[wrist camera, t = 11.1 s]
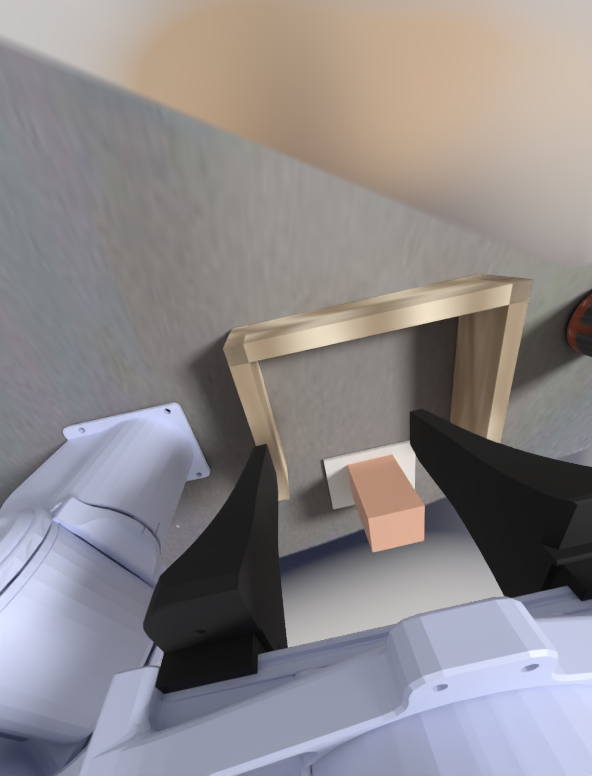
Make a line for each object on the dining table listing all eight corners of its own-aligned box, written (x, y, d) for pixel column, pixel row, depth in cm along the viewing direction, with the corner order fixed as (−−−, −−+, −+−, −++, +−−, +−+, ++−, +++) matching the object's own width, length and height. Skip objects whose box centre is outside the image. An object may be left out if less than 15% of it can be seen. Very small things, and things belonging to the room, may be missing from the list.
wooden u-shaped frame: (273, 462, 26) (275, 501, 22) (231, 328, 20) (222, 348, 16) (462, 420, 26) (498, 451, 22) (478, 273, 20) (532, 279, 16)
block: (352, 496, 28) (372, 552, 23) (347, 464, 26) (368, 518, 21) (394, 486, 28) (423, 540, 23) (392, 454, 26) (424, 505, 21)
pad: (332, 507, 29) (333, 509, 29) (323, 459, 26) (323, 461, 26) (413, 489, 29) (414, 491, 29) (413, 438, 26) (415, 440, 26)
